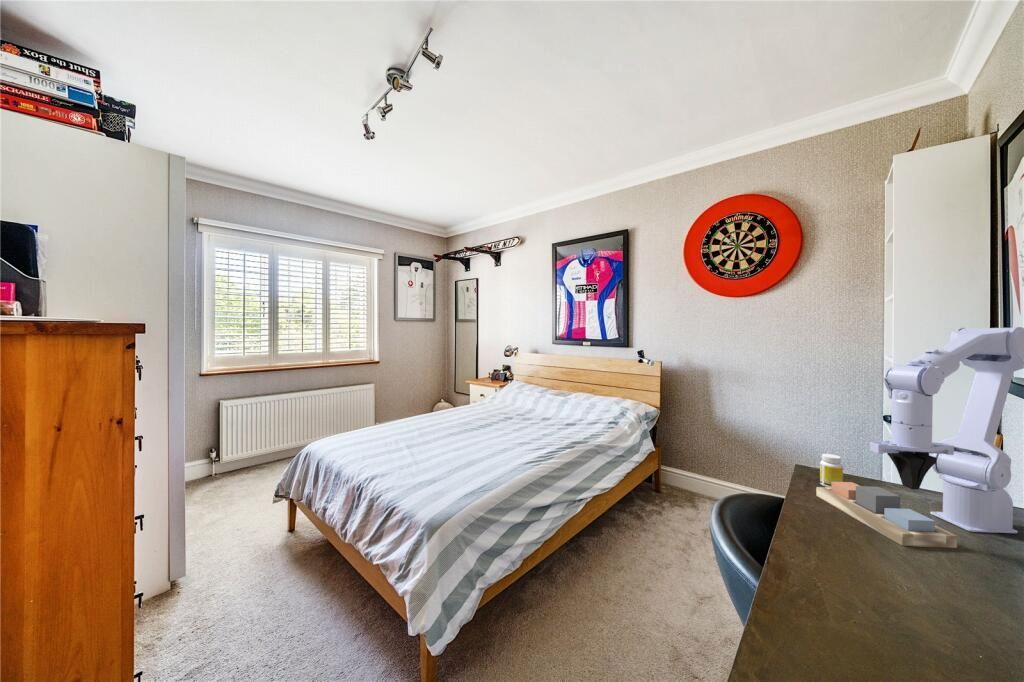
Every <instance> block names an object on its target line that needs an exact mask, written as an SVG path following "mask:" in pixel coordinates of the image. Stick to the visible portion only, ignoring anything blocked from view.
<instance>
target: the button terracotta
mask: <svg viewBox="0 0 1024 682" xmlns="http://www.w3.org/2000/svg"><path fill="white" fill-rule="evenodd" d="M856 486H860V485H859V484H857V483H855V482H852V481H843V482H831V491H833V492H835V493H836V494H838V495H840V496H842V497H844V498H846V499H848V500H856Z"/></svg>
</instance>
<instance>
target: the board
mask: <svg viewBox="0 0 1024 682" xmlns="http://www.w3.org/2000/svg"><path fill="white" fill-rule="evenodd" d="M815 491H816V494H815V495H816V497H817V498H819V499H821V500H822V501H824V502H826V503H827V504H829V505H831V506H833V507H834V508H836V509H838V510H839V511H842V512H843V513H845V514H847V515H848V516H850V517H852V518H853V519H855V520H856V521H859V522H861V524H864V525H866V526H868V527H869V528H870V529H872V530H874V531H875V532H877V533H880V534H881V535H883V536H884V537H886V538H888V539H890V540H891V541H893V542H895V543H897V544H899V545H901V546H902V547H923V548H925V547H927V548H928V547H929V548H947V549H948V548H952V549H957V548H958V535H957V534H954V533H952V532H951V531H948V530H946V529H944V528H942V527H940V526H938V525H936V524H935V532H909V531H906V530H904V529H902V528H901V527H899V526H897V525H895V524H893V523H891V522H889V521H887V520H886V519H884V514H876V513H874V512H872V511H870V510H868V509H866V508H864V507H862V506H860V505H859V504H857V503H856V500H848V499H846V498H844V497H842V496H840V495H838V494H836V493H835V492H833V491H831V487H825V486H816V490H815Z"/></svg>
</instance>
